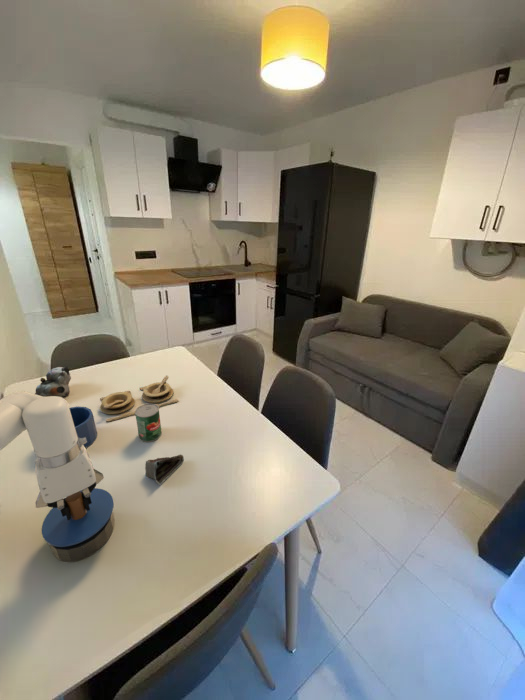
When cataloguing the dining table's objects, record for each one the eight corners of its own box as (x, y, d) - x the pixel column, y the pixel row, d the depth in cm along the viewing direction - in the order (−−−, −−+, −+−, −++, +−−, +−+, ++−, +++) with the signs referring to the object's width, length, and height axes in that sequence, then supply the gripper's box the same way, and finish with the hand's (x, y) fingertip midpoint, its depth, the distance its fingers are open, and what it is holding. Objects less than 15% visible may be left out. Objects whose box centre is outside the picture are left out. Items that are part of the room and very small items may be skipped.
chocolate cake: (170, 452, 99) (142, 446, 90) (185, 455, 96) (158, 449, 86) (161, 483, 95) (132, 479, 86) (177, 486, 92) (148, 483, 83)
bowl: (44, 570, 65) (39, 557, 63) (61, 516, 76) (57, 504, 74) (110, 551, 69) (107, 539, 67) (117, 503, 80) (114, 492, 79)
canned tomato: (158, 442, 103) (155, 416, 99) (135, 442, 103) (131, 416, 98) (164, 427, 110) (161, 403, 106) (142, 427, 110) (139, 403, 105)
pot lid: (32, 557, 62) (22, 535, 59) (53, 499, 74) (46, 478, 71) (109, 537, 66) (104, 515, 63) (117, 485, 79) (112, 465, 76)
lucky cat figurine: (30, 394, 126) (36, 363, 127) (63, 395, 135) (68, 365, 136) (38, 399, 116) (44, 364, 117) (72, 399, 125) (78, 367, 126)
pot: (46, 457, 94) (38, 434, 90) (58, 431, 106) (52, 409, 102) (93, 449, 98) (87, 427, 95) (100, 425, 110) (95, 404, 106)
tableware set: (166, 382, 141) (165, 371, 138) (180, 402, 126) (179, 390, 124) (97, 399, 125) (95, 387, 123) (104, 424, 111) (101, 411, 108)
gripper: (98, 427, 69) (111, 483, 77) (9, 458, 60) (34, 518, 67) (105, 445, 64) (119, 503, 71) (9, 482, 54) (36, 544, 62)
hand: (78, 510), depth 69 cm, fingers closed on pot lid, 3 cm apart
